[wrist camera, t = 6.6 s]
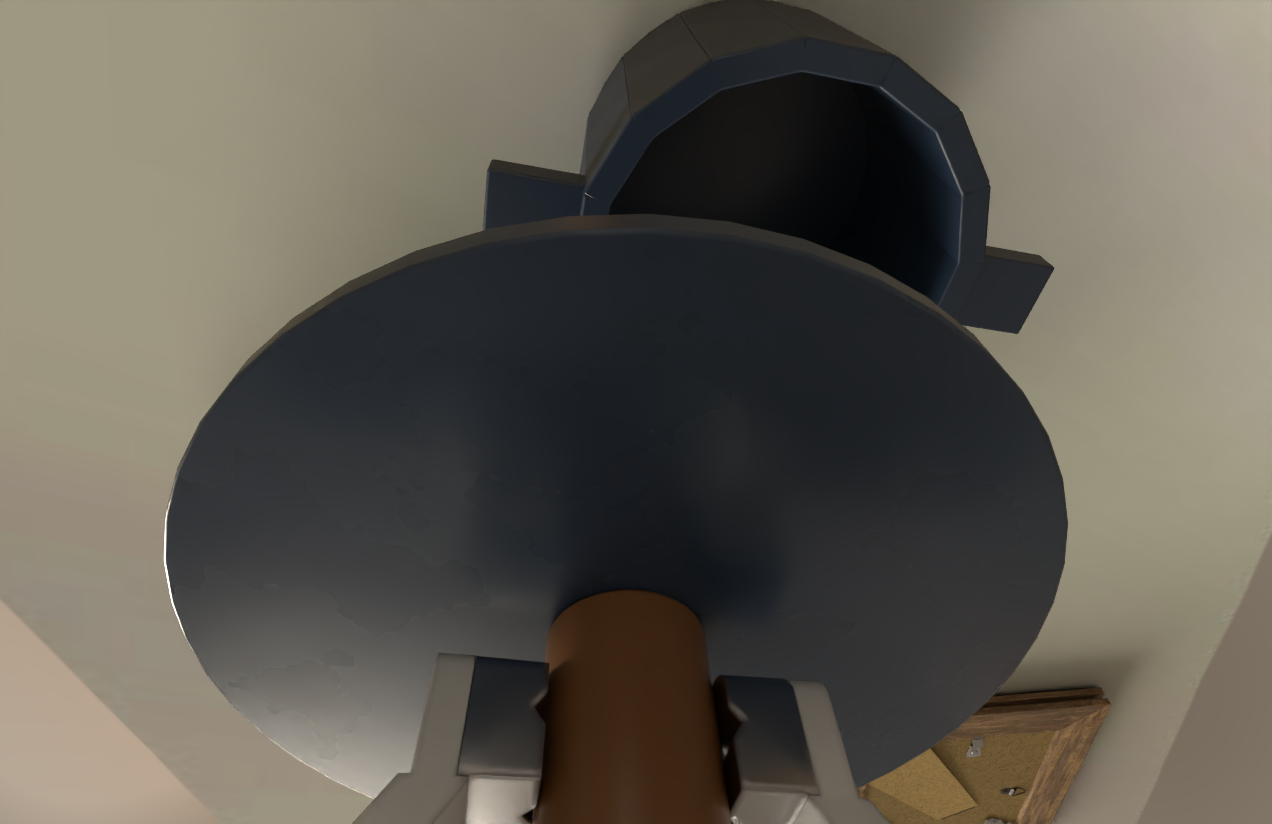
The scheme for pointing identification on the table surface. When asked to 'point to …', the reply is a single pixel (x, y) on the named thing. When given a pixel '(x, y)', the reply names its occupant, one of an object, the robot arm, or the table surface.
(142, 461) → the table surface
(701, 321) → the lid
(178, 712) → the table surface
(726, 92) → the pot
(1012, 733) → the picture frame
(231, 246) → the table surface
